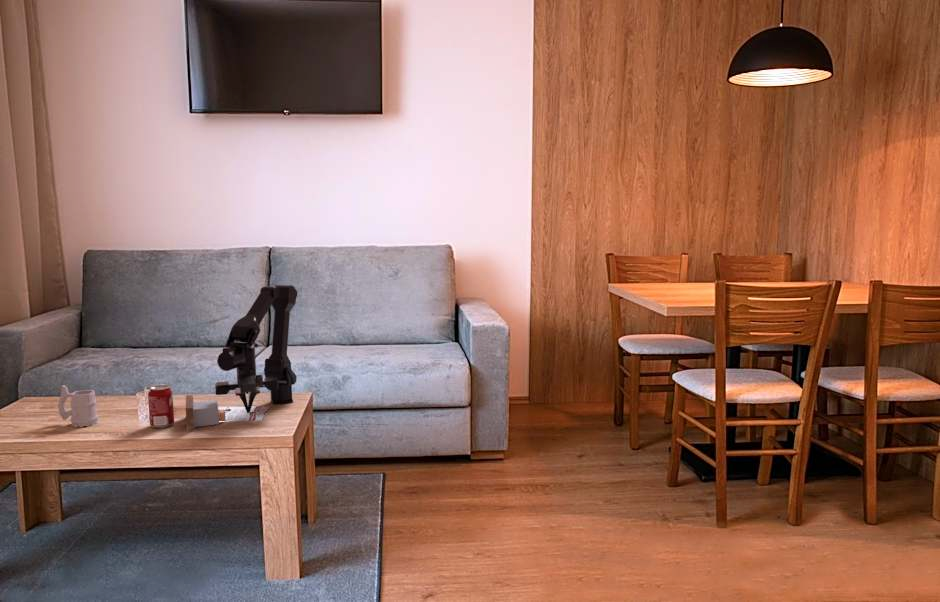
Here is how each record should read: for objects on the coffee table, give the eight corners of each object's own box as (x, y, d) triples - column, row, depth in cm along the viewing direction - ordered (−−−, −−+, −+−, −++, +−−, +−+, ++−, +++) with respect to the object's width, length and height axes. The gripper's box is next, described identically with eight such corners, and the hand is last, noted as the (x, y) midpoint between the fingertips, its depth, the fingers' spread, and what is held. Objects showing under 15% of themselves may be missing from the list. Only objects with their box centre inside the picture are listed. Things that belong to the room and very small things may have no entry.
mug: (90, 427, 217) (87, 388, 215) (52, 427, 217) (48, 388, 216) (104, 420, 224) (101, 382, 223) (67, 420, 225) (64, 382, 223)
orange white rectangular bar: (225, 420, 224) (224, 410, 224) (225, 422, 221) (225, 412, 221) (197, 422, 222) (197, 412, 221) (197, 425, 219) (197, 415, 218)
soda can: (169, 429, 215) (166, 389, 213) (146, 429, 215) (143, 389, 213) (177, 422, 221) (175, 384, 220) (155, 422, 221) (153, 384, 220)
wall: (194, 416, 228) (192, 394, 227) (194, 430, 213) (192, 407, 212) (187, 417, 227) (186, 395, 226) (186, 431, 212) (185, 408, 211)
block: (217, 416, 227) (217, 399, 226) (218, 424, 219) (218, 407, 218) (194, 418, 224) (193, 402, 224) (194, 426, 216) (193, 409, 215)
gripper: (214, 372, 213) (217, 423, 215) (279, 366, 220) (281, 416, 222) (213, 364, 224) (216, 413, 226) (275, 359, 230) (278, 407, 232)
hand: (248, 412), depth 226 cm, fingers closed
